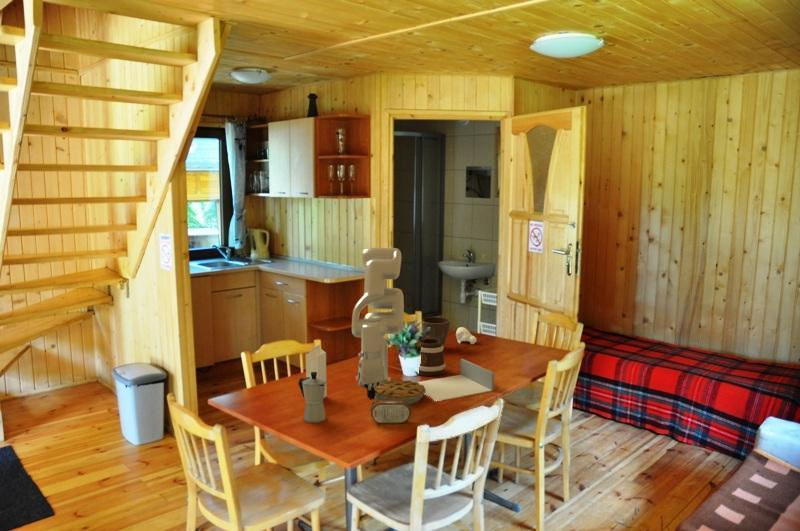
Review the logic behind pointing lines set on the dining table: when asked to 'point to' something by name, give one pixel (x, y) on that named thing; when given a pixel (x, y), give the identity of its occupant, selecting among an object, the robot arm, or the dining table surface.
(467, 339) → the cream rounded lump
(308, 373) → the milk
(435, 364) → the mug
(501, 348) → the dining table surface
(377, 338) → the robot arm
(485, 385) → the grey l-shaped tray
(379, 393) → the pie
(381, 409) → the tin
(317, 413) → the coffee maker
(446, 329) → the plant pot
